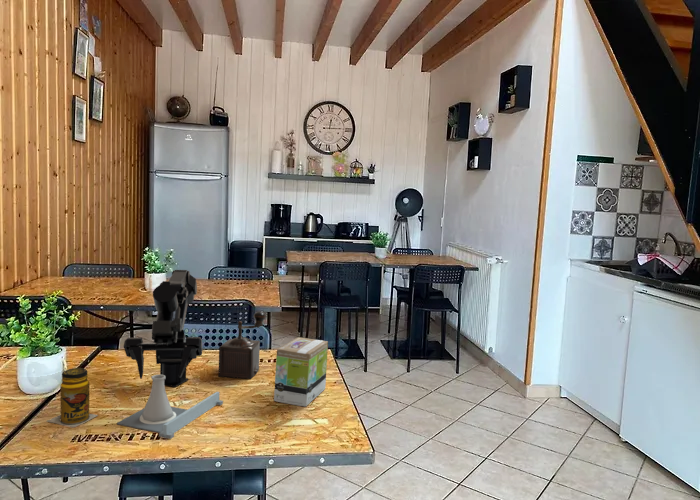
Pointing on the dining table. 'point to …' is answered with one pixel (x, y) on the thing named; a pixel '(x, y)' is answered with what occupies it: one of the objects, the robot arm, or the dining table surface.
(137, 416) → the resting mat
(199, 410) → the grey footed bar
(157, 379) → the flask
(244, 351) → the dark wooden grinder box
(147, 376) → the dining table surface
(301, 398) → the tea box
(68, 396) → the condiment
